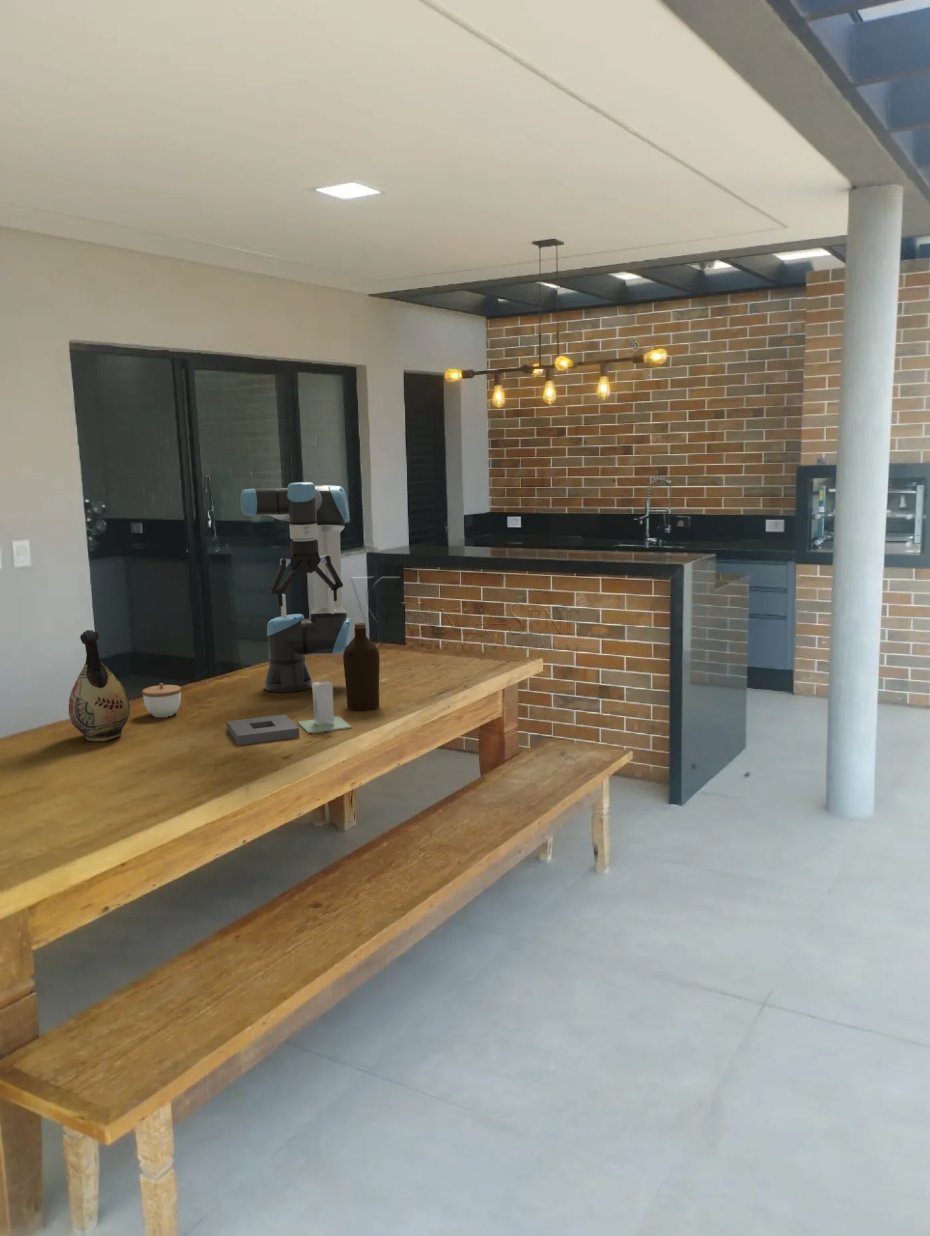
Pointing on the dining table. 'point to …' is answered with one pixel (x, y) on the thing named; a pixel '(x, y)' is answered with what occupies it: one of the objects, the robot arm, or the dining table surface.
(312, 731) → the green mat
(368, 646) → the olive oil
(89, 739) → the ceramic jug
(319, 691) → the metal peg
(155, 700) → the lidded jar
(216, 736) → the dining table surface
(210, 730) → the dining table surface
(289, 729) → the pocket block
